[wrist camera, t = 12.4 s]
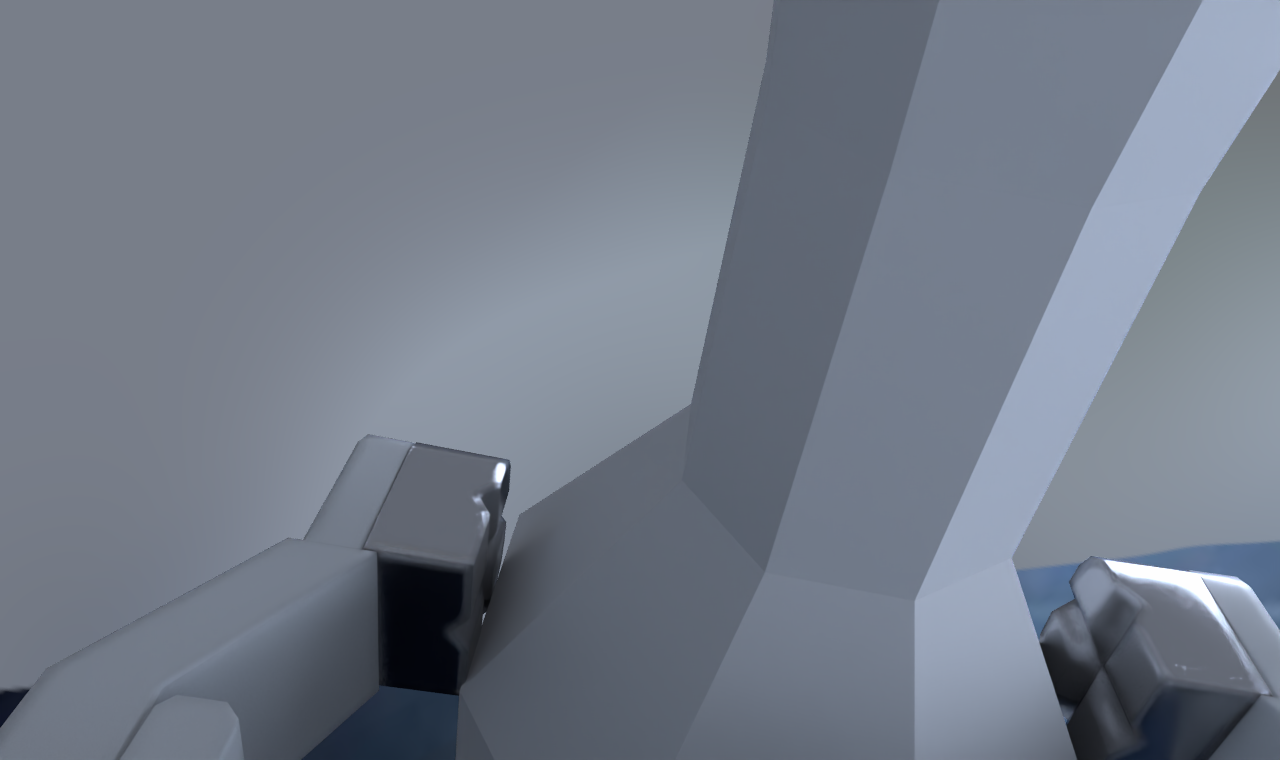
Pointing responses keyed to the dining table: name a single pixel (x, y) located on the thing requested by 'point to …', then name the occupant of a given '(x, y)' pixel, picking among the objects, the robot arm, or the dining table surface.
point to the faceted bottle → (874, 393)
